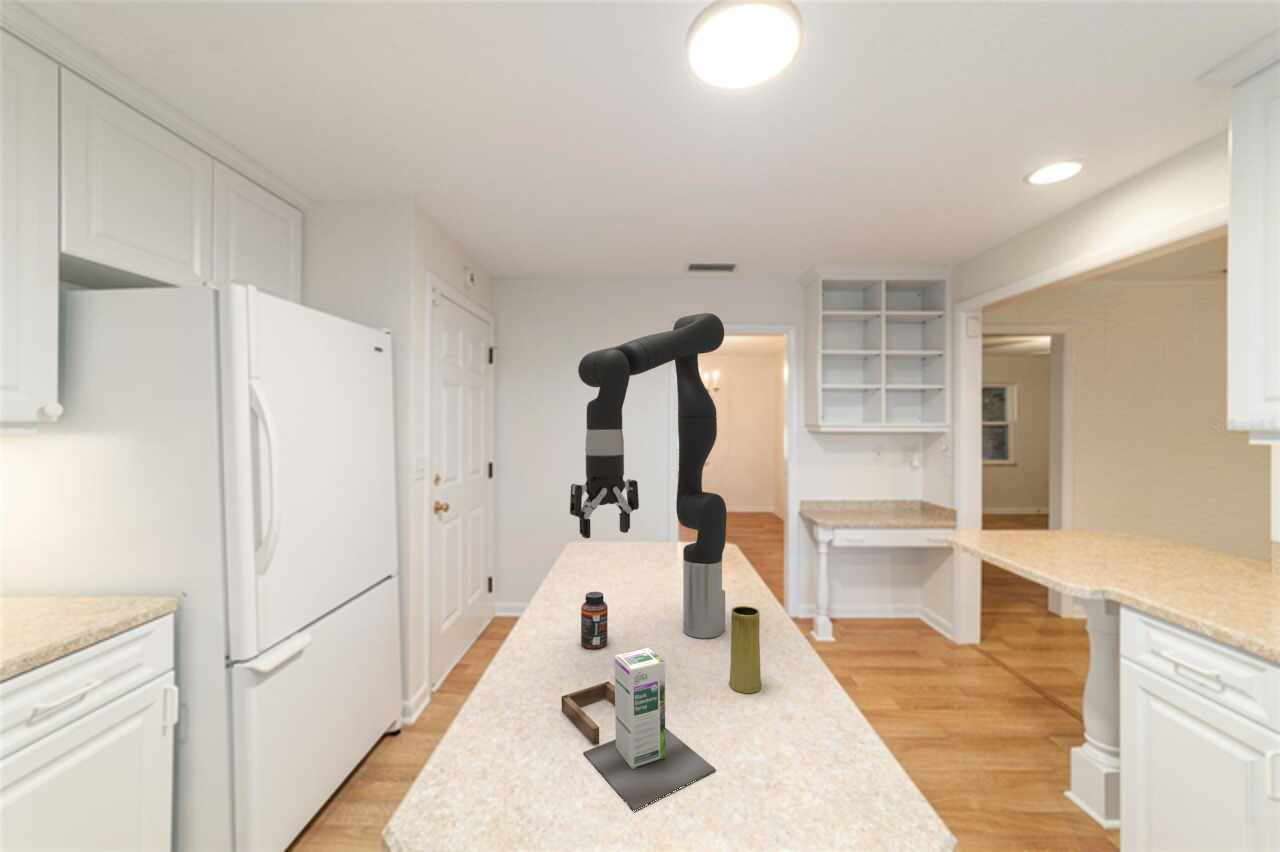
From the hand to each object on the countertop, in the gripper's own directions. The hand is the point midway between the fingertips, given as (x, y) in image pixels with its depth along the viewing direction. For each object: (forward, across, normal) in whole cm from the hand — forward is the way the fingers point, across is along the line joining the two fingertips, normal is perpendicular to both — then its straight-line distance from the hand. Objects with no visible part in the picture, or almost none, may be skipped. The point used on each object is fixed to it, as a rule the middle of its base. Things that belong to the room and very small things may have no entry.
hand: (605, 534), depth 102 cm
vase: (+28, +20, -18) cm, 39 cm away
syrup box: (+28, -8, -24) cm, 38 cm away
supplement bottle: (+28, +5, +14) cm, 32 cm away
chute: (+28, -8, -20) cm, 35 cm away
